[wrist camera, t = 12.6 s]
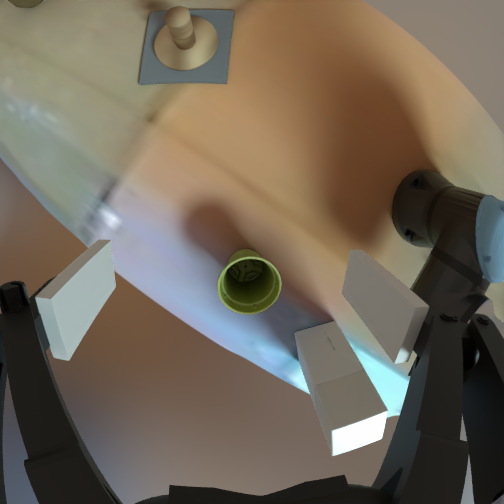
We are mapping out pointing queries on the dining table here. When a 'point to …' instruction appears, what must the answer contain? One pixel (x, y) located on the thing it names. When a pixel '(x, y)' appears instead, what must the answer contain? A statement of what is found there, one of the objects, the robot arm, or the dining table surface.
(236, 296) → the plant pot
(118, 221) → the dining table surface
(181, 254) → the dining table surface
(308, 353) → the tall white carton
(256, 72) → the dining table surface
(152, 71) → the mat
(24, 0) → the squeeze bottle
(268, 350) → the dining table surface
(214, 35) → the beige disc-based post
